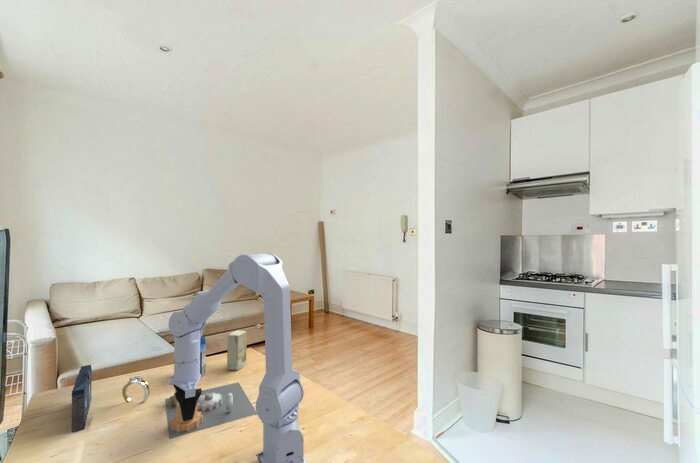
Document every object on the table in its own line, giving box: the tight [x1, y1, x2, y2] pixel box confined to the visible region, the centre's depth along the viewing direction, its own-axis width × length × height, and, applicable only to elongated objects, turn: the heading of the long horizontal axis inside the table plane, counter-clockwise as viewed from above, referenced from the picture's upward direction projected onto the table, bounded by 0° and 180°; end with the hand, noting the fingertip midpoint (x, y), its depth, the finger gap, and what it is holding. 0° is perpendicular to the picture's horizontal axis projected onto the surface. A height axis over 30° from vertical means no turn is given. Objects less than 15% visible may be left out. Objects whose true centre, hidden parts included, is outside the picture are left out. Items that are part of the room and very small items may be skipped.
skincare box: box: [226, 330, 248, 371], centre depth 118 cm, size 6×4×12 cm
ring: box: [121, 375, 151, 404], centre depth 91 cm, size 7×3×8 cm, turn 82°
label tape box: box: [200, 336, 207, 378], centre depth 111 cm, size 9×4×12 cm, turn 94°
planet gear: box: [171, 401, 203, 432], centre depth 80 cm, size 7×7×6 cm
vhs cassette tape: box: [71, 364, 93, 433], centre depth 87 cm, size 18×3×10 cm, turn 33°
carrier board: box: [164, 381, 257, 440], centre depth 89 cm, size 21×20×7 cm
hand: (187, 414), depth 80 cm, fingers closed on planet gear, 4 cm apart
